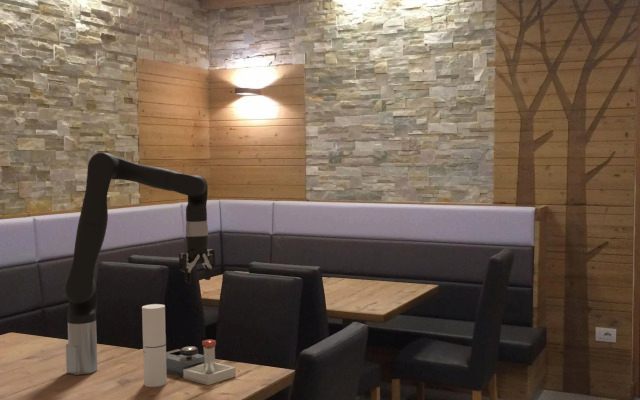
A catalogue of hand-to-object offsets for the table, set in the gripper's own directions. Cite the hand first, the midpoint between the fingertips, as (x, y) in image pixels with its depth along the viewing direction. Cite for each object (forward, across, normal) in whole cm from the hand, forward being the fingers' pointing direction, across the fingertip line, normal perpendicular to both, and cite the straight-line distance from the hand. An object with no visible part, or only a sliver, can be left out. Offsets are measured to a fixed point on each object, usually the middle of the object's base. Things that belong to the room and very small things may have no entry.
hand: (197, 281), depth 251 cm
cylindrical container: (+30, +20, +2) cm, 36 cm away
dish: (+30, +5, +10) cm, 32 cm away
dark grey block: (+30, +5, -4) cm, 31 cm away
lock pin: (+29, +5, +10) cm, 31 cm away
